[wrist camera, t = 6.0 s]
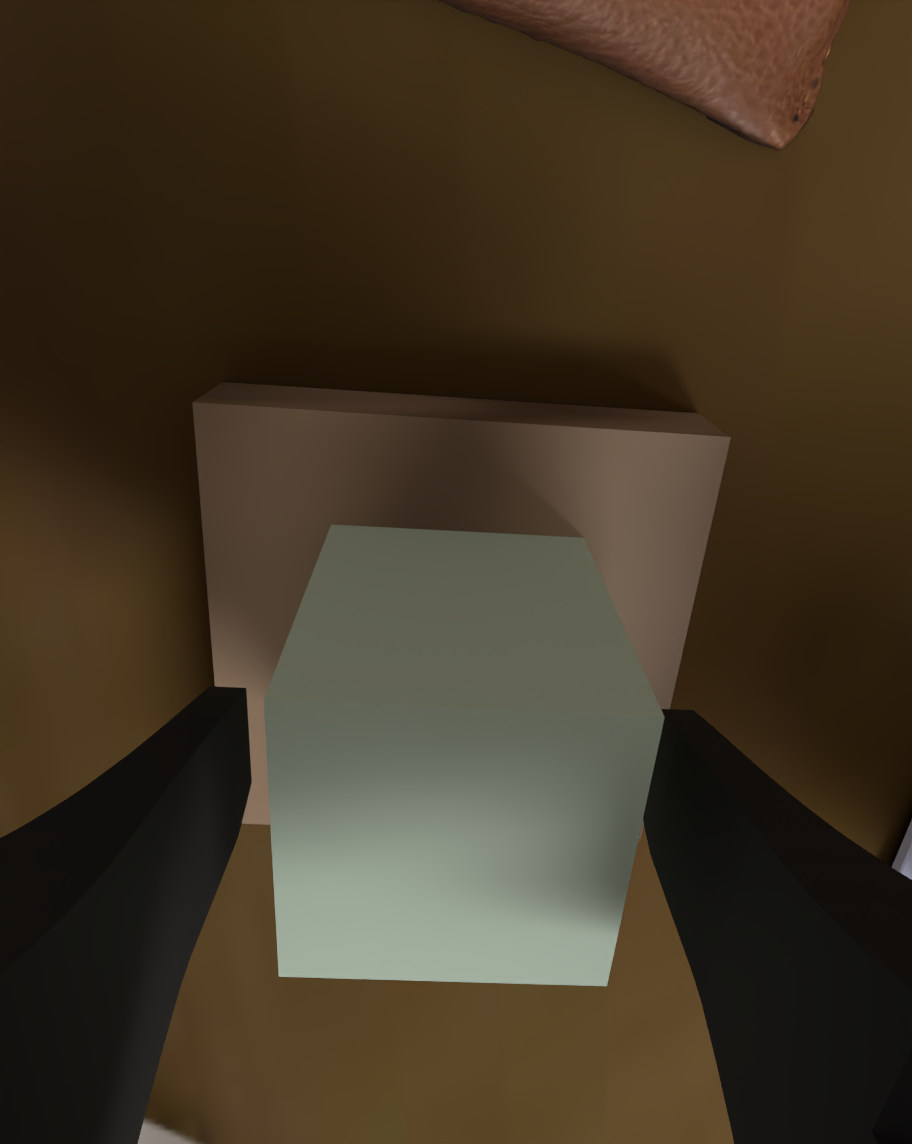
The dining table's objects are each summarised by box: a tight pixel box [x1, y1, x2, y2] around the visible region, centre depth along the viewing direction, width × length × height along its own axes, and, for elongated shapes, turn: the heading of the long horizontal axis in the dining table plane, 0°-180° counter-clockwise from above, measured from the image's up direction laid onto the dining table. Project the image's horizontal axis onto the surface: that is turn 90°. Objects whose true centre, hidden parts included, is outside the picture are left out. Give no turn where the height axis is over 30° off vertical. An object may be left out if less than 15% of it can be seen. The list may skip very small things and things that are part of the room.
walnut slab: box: [192, 382, 731, 840], centre depth 17 cm, size 10×10×2 cm
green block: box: [264, 525, 665, 986], centre depth 13 cm, size 5×5×6 cm
